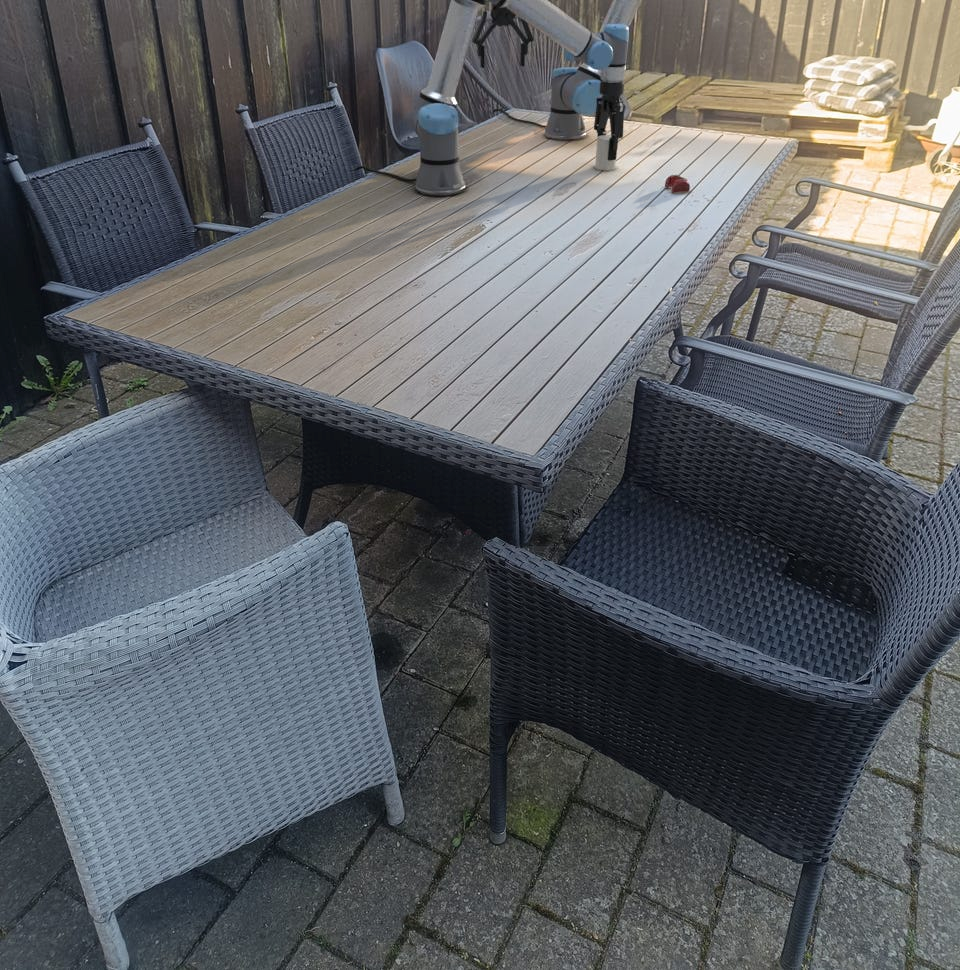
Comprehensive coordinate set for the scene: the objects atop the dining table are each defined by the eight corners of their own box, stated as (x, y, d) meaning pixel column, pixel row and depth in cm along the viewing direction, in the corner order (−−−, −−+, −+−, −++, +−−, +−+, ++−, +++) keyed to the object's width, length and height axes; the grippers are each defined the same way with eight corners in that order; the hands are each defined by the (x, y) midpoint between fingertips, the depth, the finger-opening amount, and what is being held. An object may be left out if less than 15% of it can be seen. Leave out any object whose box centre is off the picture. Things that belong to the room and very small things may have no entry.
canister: (591, 168, 278) (593, 137, 272) (602, 164, 282) (604, 133, 276) (608, 171, 274) (610, 141, 269) (619, 167, 279) (622, 137, 273)
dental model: (681, 171, 259) (692, 178, 253) (679, 184, 262) (690, 192, 256) (664, 173, 258) (675, 180, 252) (662, 186, 261) (673, 194, 255)
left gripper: (639, 85, 257) (631, 163, 270) (606, 74, 271) (600, 148, 285) (618, 87, 254) (611, 165, 268) (586, 76, 269) (581, 151, 282)
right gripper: (467, -6, 261) (467, 70, 274) (544, -7, 266) (541, 67, 278) (462, -8, 267) (463, 66, 280) (538, -10, 272) (535, 63, 284)
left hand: (606, 156), depth 276 cm, fingers closed on canister, 7 cm apart
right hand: (502, 66), depth 279 cm, fingers open, 13 cm apart
